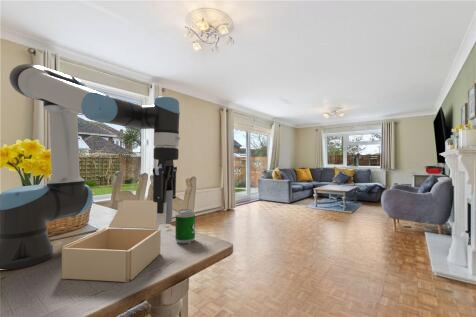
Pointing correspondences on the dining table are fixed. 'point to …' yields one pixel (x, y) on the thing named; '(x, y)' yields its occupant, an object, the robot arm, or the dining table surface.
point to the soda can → (185, 226)
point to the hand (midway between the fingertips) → (164, 221)
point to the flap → (136, 215)
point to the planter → (169, 205)
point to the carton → (110, 254)
